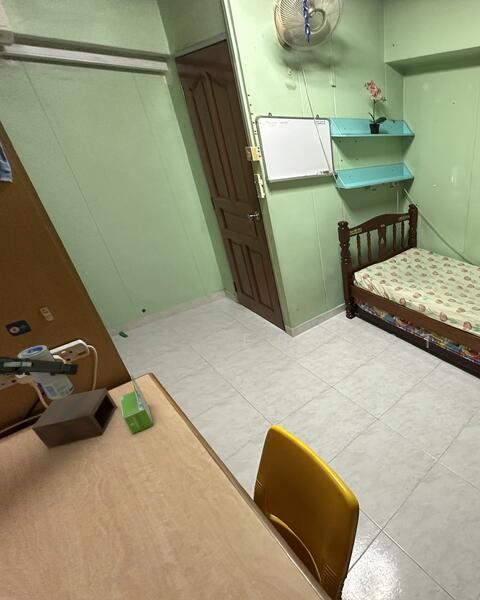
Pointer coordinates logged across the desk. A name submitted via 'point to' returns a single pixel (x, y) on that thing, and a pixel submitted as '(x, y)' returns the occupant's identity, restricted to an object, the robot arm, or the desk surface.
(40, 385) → the beverage can
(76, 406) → the walnut shelf
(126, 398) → the ink box
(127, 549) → the desk surface
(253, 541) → the desk surface
